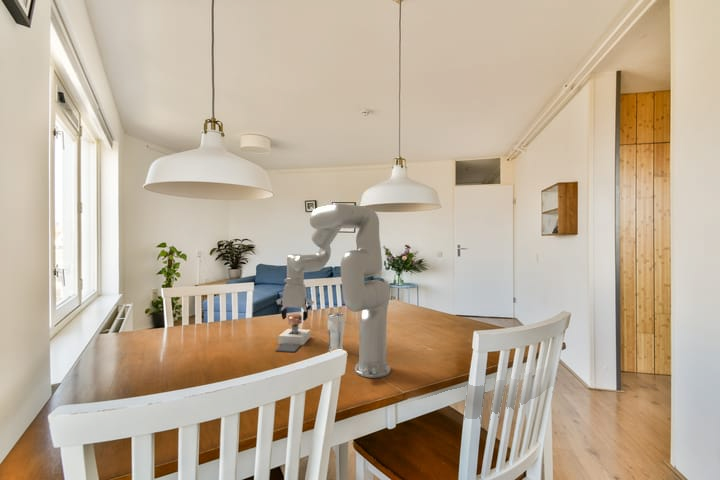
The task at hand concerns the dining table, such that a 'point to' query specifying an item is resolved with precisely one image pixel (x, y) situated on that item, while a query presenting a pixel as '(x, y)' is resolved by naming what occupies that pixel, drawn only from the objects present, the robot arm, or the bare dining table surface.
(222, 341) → the dining table surface
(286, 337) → the eye block
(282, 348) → the rubber mat
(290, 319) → the copper topped tamper
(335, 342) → the beer glass
